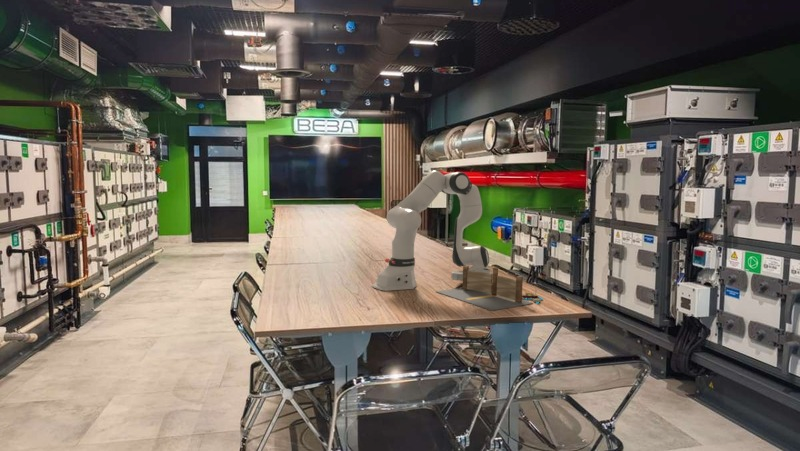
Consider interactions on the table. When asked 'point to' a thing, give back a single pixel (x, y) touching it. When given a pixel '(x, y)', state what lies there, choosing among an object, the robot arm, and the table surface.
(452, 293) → the board
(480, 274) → the fence panel
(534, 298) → the gear mechanism
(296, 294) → the table surface
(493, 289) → the fence fixed
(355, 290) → the table surface
